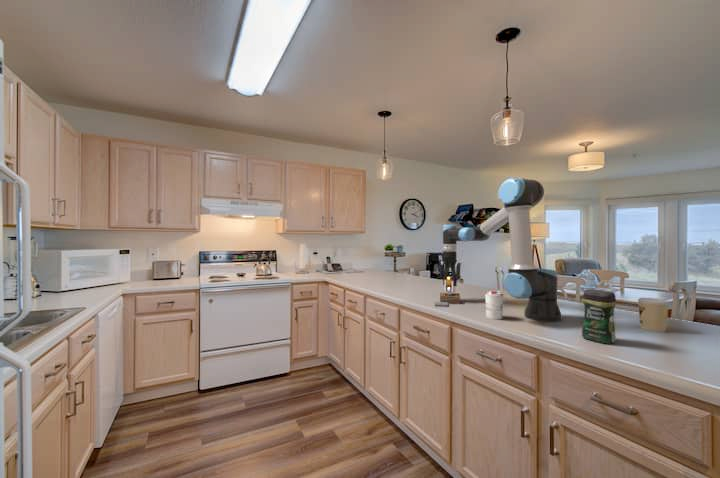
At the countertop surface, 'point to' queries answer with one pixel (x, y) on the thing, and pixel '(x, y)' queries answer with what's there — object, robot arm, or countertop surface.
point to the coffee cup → (653, 314)
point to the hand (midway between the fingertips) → (449, 291)
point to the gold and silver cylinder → (449, 285)
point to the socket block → (450, 298)
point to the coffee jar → (599, 316)
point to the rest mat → (441, 304)
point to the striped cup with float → (494, 304)
